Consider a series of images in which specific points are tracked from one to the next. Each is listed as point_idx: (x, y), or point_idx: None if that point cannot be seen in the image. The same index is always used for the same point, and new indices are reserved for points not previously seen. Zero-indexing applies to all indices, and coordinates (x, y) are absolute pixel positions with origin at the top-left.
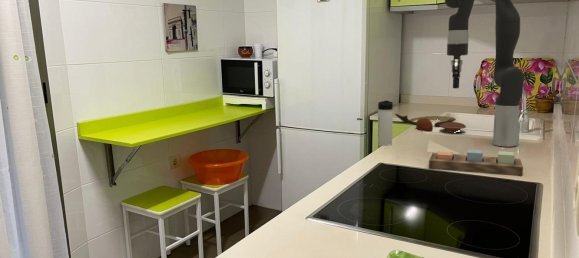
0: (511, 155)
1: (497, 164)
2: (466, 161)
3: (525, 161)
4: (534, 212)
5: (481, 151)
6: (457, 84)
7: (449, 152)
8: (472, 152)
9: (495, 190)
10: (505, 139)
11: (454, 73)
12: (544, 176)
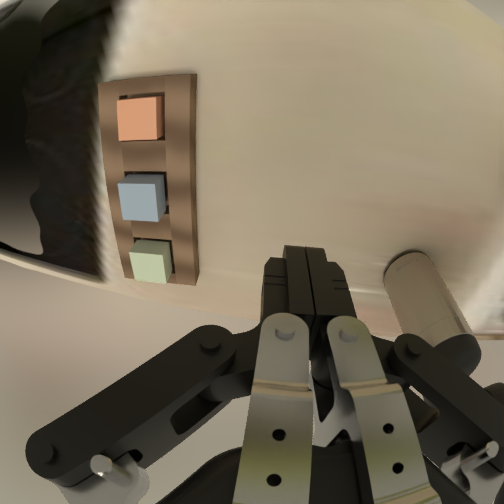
0: (134, 274)
1: (122, 237)
2: (119, 174)
3: (256, 290)
4: (2, 250)
5: (144, 218)
6: (261, 302)
7: (150, 130)
8: (122, 196)
9: (36, 217)
10: (390, 285)
11: (350, 381)
12: (146, 296)
